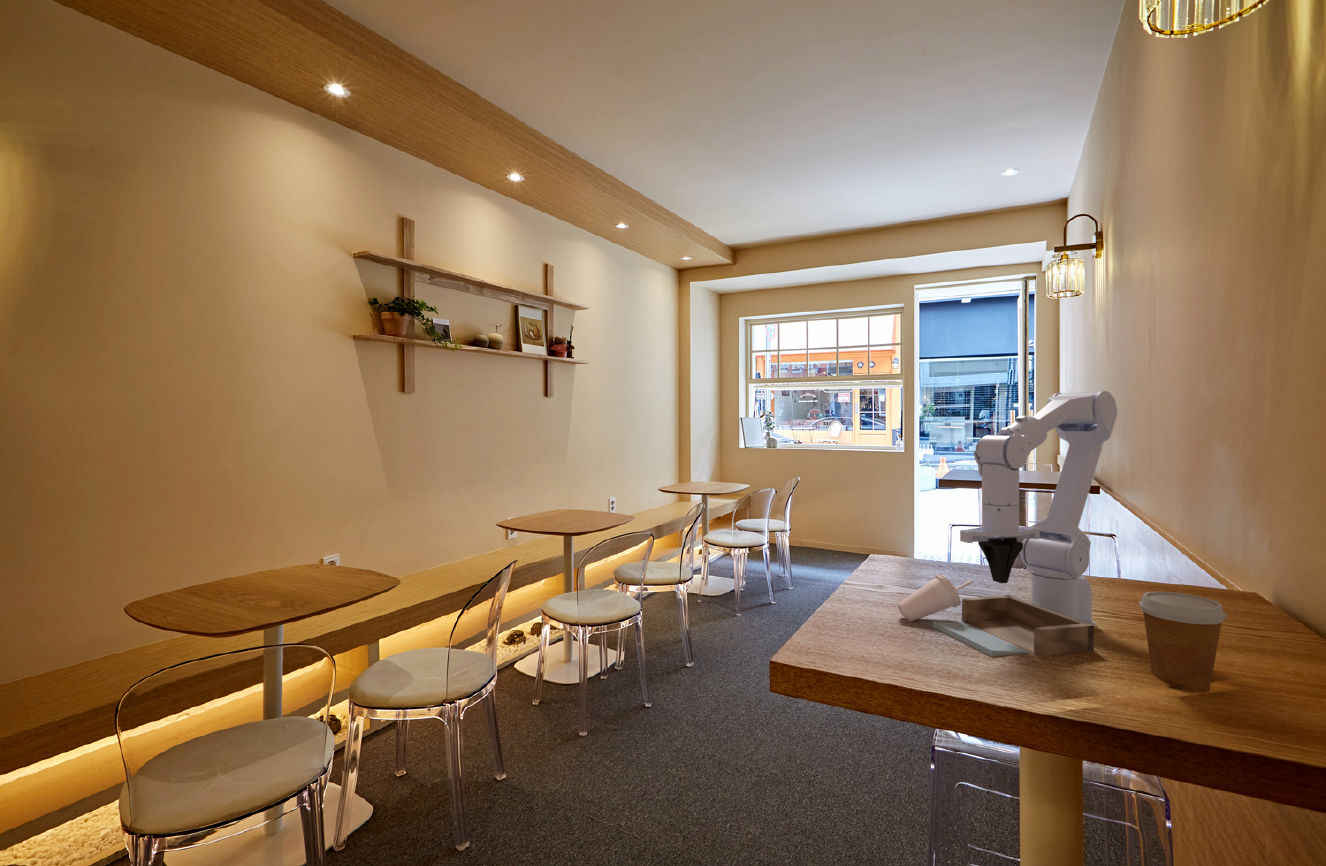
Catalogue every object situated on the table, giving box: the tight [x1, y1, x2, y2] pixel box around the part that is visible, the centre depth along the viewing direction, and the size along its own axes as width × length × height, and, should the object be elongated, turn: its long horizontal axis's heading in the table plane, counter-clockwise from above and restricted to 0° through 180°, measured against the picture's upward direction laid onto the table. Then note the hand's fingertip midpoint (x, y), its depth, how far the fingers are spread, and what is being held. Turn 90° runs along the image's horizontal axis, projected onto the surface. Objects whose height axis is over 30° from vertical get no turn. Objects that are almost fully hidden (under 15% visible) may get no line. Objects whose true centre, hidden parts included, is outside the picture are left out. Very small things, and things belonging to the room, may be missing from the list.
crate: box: [961, 594, 1095, 657], centre depth 106 cm, size 10×18×5 cm, turn 12°
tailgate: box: [931, 621, 1031, 657], centre depth 104 cm, size 1×14×7 cm
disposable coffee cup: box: [1138, 591, 1227, 694], centre depth 88 cm, size 10×10×12 cm
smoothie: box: [897, 573, 974, 622], centre depth 115 cm, size 6×6×14 cm
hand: (1000, 581), depth 109 cm, fingers closed
